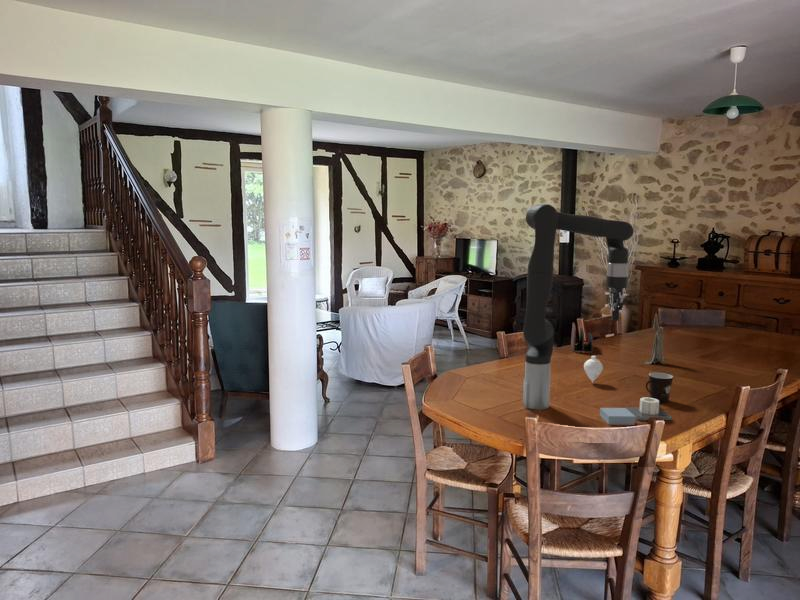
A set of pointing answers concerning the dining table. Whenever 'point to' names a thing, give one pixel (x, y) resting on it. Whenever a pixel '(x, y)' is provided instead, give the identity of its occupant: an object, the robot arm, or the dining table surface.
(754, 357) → the dining table surface
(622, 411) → the stand block
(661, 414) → the hub
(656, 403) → the collar ring
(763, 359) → the dining table surface
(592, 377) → the spinning top
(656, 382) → the coffee mug
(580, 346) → the letter holder
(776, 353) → the dining table surface
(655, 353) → the wizard figurine
